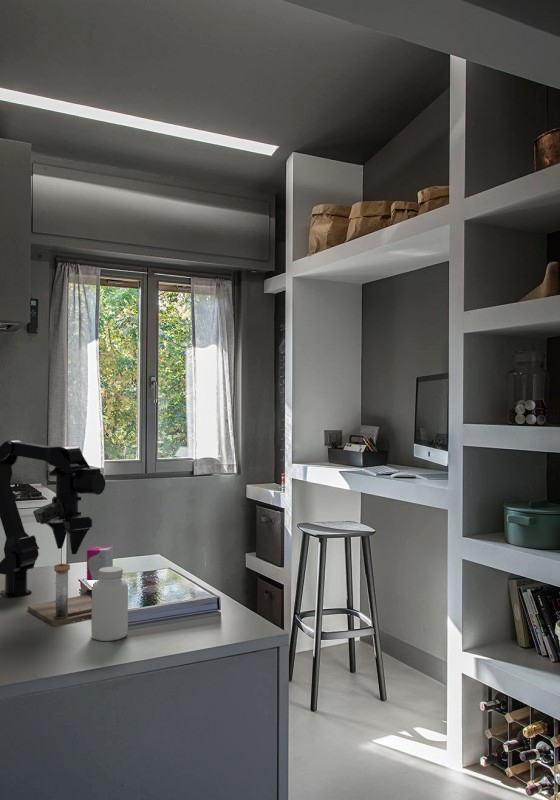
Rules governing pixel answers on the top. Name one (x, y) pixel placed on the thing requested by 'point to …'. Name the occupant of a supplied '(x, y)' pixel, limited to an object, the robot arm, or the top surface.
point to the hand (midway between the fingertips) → (66, 551)
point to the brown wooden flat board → (76, 610)
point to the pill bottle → (109, 605)
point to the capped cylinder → (61, 590)
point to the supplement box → (98, 560)
